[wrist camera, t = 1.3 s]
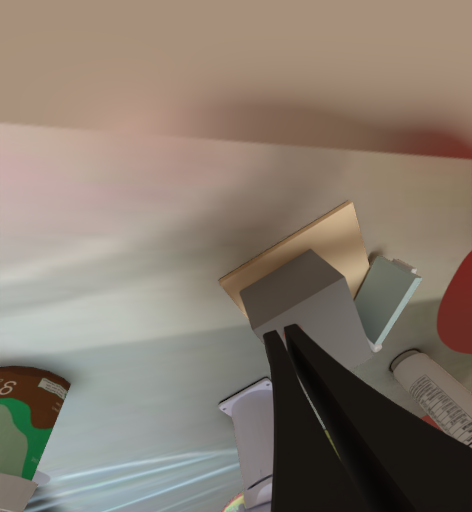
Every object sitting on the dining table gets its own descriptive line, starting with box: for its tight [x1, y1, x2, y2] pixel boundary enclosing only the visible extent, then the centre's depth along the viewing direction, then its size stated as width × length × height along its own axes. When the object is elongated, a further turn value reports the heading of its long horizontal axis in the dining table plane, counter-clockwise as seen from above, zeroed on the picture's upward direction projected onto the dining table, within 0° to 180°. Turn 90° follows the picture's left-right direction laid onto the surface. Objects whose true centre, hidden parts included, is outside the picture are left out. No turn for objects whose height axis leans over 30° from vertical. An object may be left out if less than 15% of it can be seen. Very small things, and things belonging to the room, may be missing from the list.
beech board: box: [219, 201, 370, 320], centre depth 24 cm, size 19×14×1 cm
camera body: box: [239, 249, 373, 394], centre depth 21 cm, size 13×8×6 cm, turn 30°
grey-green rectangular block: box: [354, 256, 422, 352], centre depth 22 cm, size 9×2×4 cm, turn 170°
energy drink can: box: [391, 350, 472, 448], centre depth 28 cm, size 6×6×15 cm
